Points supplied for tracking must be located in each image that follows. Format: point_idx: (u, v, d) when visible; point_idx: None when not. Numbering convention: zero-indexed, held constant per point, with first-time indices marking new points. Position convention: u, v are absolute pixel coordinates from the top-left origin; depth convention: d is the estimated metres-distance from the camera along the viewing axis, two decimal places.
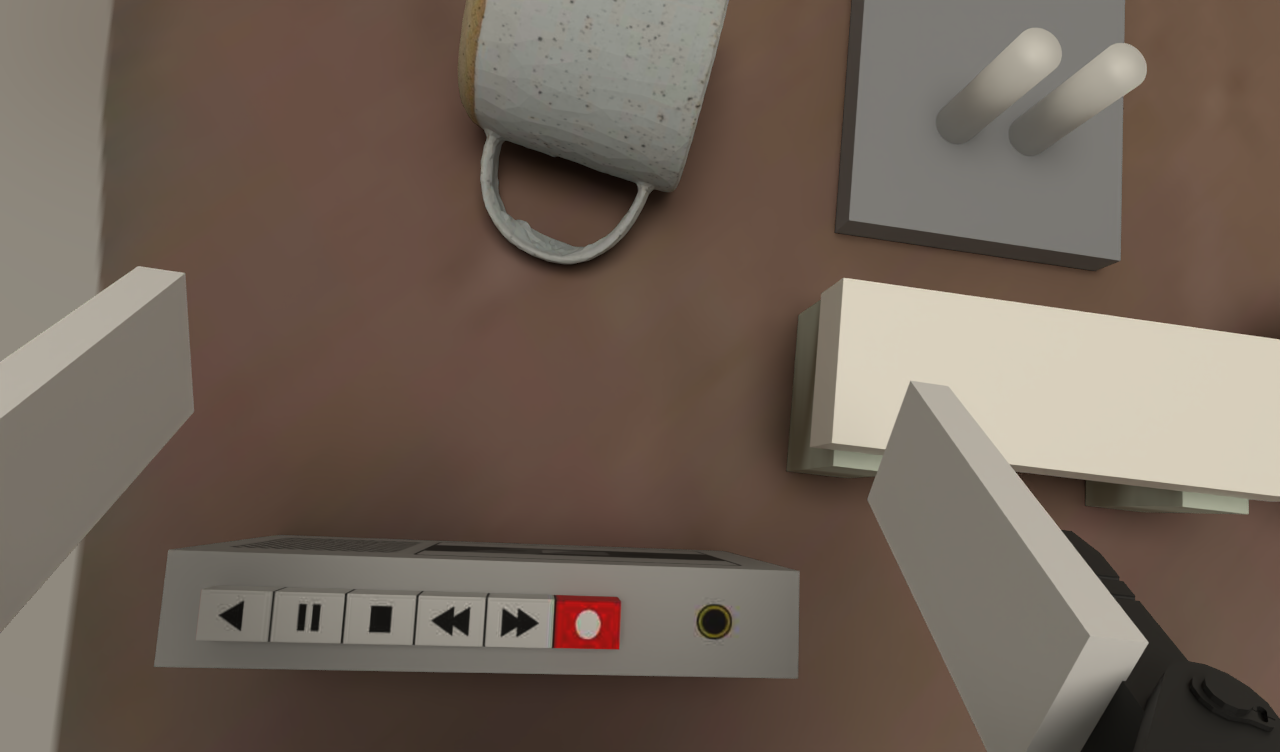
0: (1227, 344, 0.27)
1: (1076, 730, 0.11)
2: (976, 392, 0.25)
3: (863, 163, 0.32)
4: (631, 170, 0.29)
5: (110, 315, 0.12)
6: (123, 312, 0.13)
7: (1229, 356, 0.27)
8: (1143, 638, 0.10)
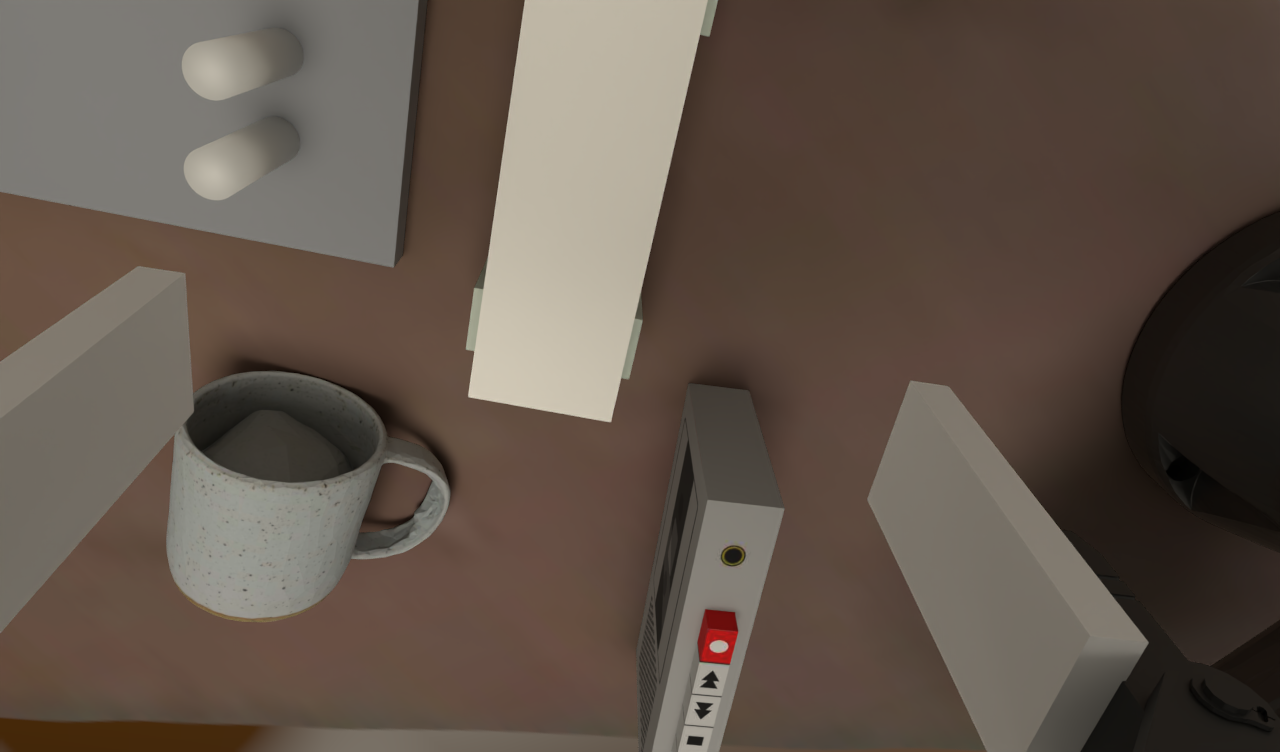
0: (538, 6, 0.24)
1: (1076, 730, 0.11)
2: (575, 296, 0.28)
3: (333, 245, 0.32)
4: (374, 482, 0.34)
5: (110, 315, 0.12)
6: (123, 312, 0.13)
7: (552, 7, 0.24)
8: (1143, 638, 0.10)
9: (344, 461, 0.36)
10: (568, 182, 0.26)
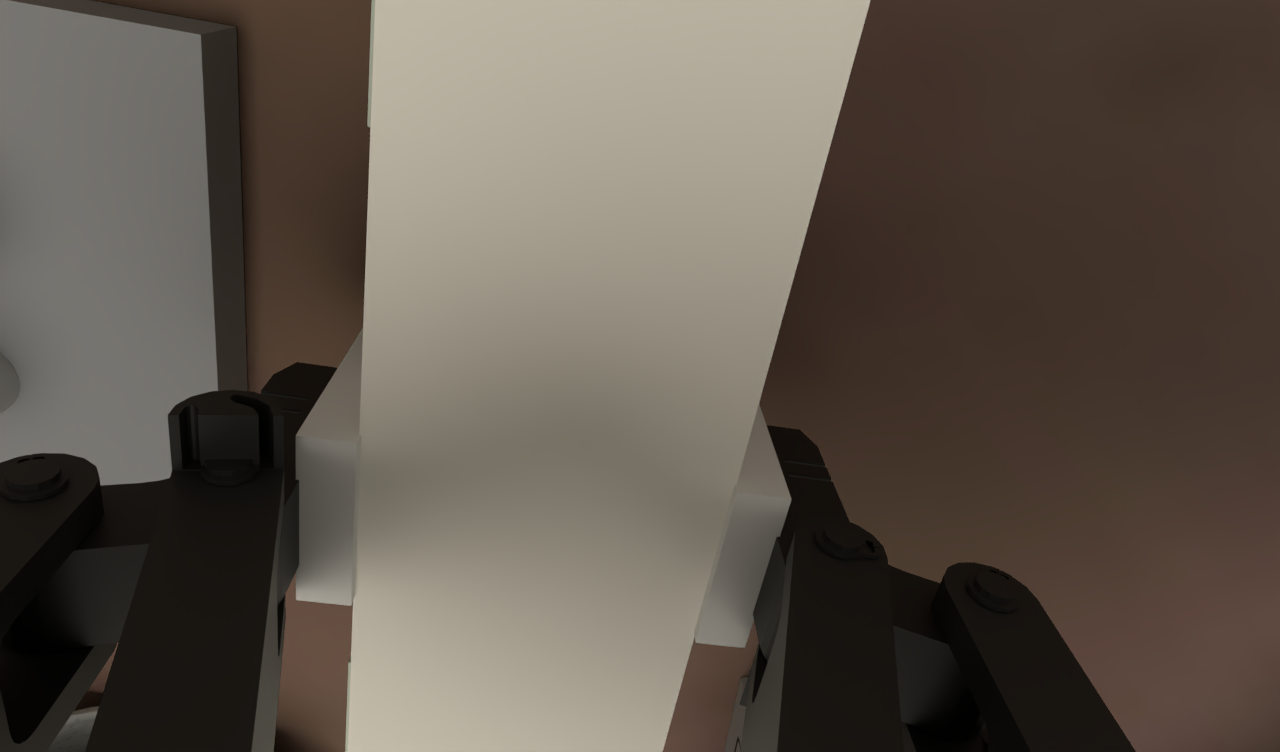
0: (404, 186, 0.09)
1: (746, 585, 0.12)
2: (540, 726, 0.13)
3: None
4: None
5: None
6: None
7: (438, 187, 0.09)
8: (788, 496, 0.11)
9: None
10: (509, 538, 0.12)
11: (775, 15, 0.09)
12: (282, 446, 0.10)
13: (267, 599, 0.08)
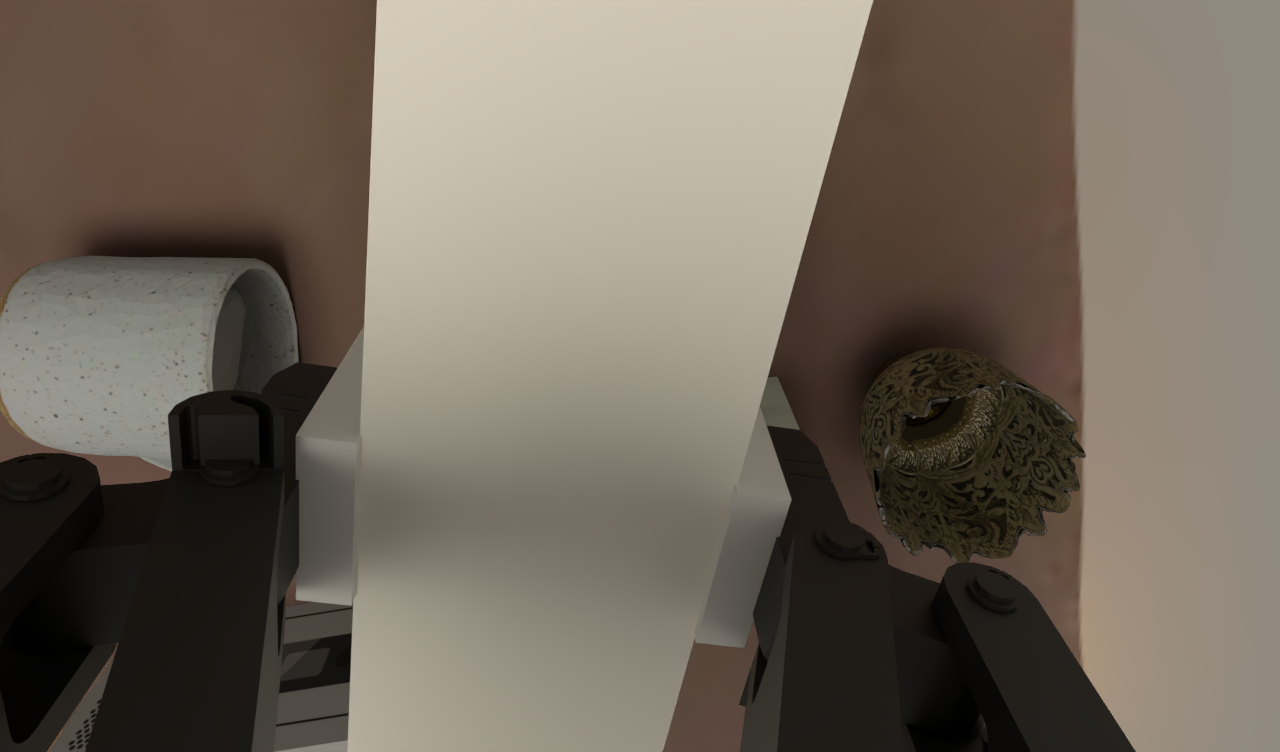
0: (406, 186, 0.09)
1: (746, 584, 0.12)
2: (540, 726, 0.13)
3: None
4: None
5: None
6: None
7: (440, 187, 0.09)
8: (787, 496, 0.11)
9: None
10: (509, 539, 0.12)
11: (777, 16, 0.09)
12: (282, 446, 0.10)
13: (267, 599, 0.08)
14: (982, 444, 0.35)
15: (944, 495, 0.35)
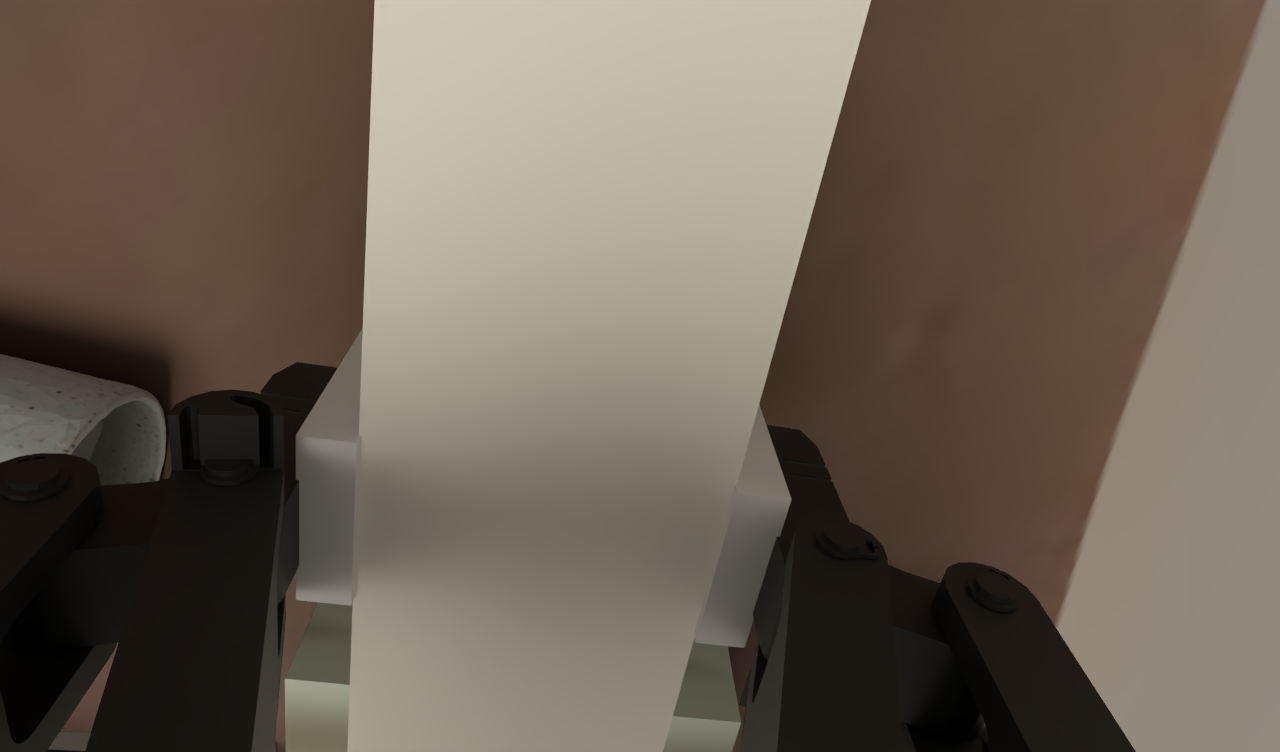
0: (404, 184, 0.09)
1: (746, 584, 0.12)
2: (540, 726, 0.13)
3: None
4: None
5: None
6: None
7: (439, 185, 0.09)
8: (787, 496, 0.11)
9: None
10: (509, 538, 0.12)
11: (776, 12, 0.09)
12: (282, 446, 0.10)
13: (267, 599, 0.08)
14: None
15: None
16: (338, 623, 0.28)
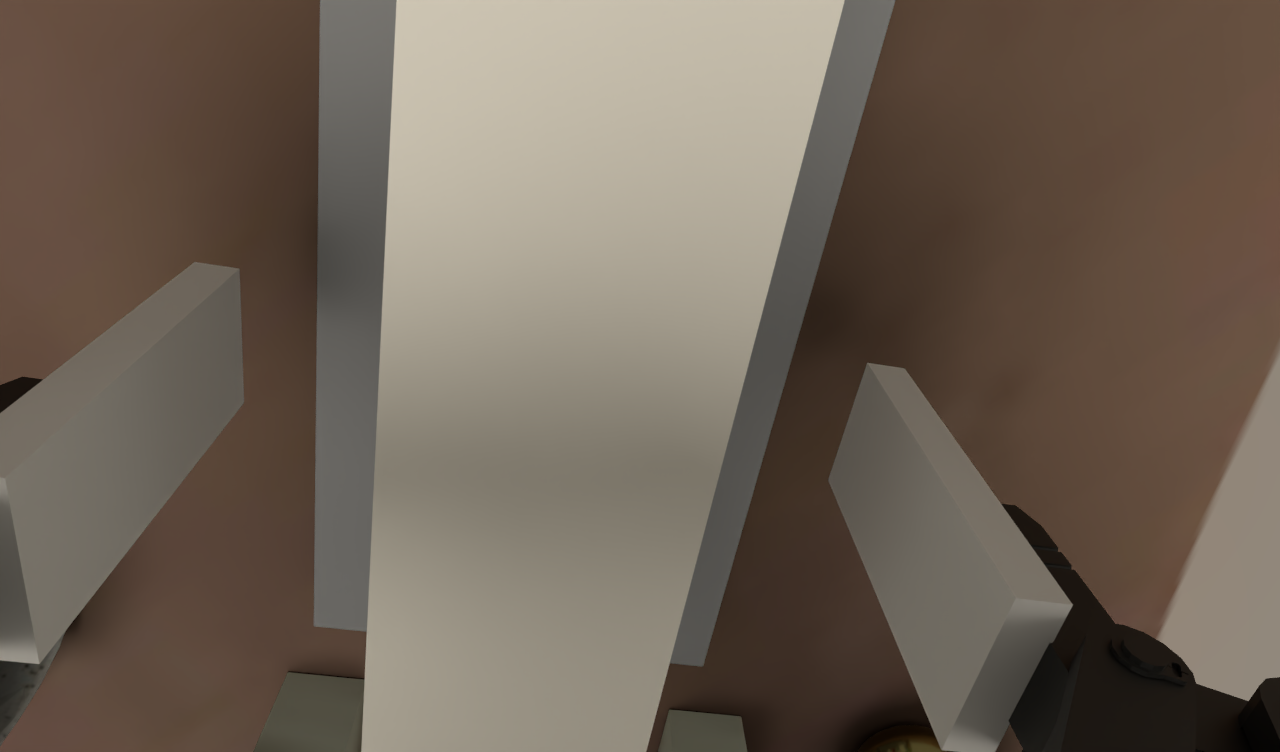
0: (422, 164, 0.10)
1: (1007, 691, 0.11)
2: (544, 677, 0.14)
3: (330, 562, 0.22)
4: None
5: (175, 308, 0.13)
6: (187, 306, 0.13)
7: (453, 165, 0.10)
8: (1067, 600, 0.10)
9: None
10: (516, 496, 0.13)
11: (760, 6, 0.10)
12: None
13: None
14: None
15: None
16: (292, 743, 0.24)
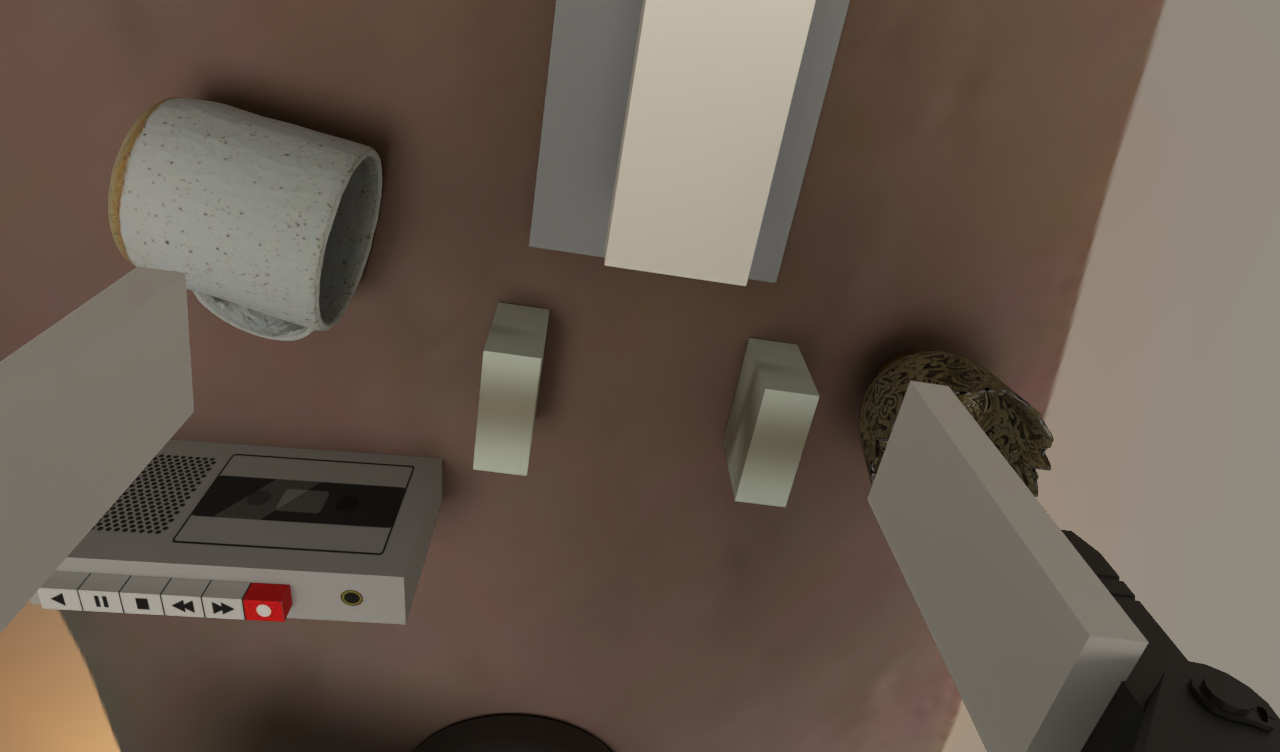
0: None
1: (1076, 730, 0.11)
2: (714, 153, 0.27)
3: (544, 196, 0.35)
4: None
5: (110, 315, 0.12)
6: (123, 312, 0.13)
7: None
8: (1143, 638, 0.10)
9: None
10: (711, 29, 0.26)
11: None
12: None
13: None
14: None
15: None
16: (512, 327, 0.37)
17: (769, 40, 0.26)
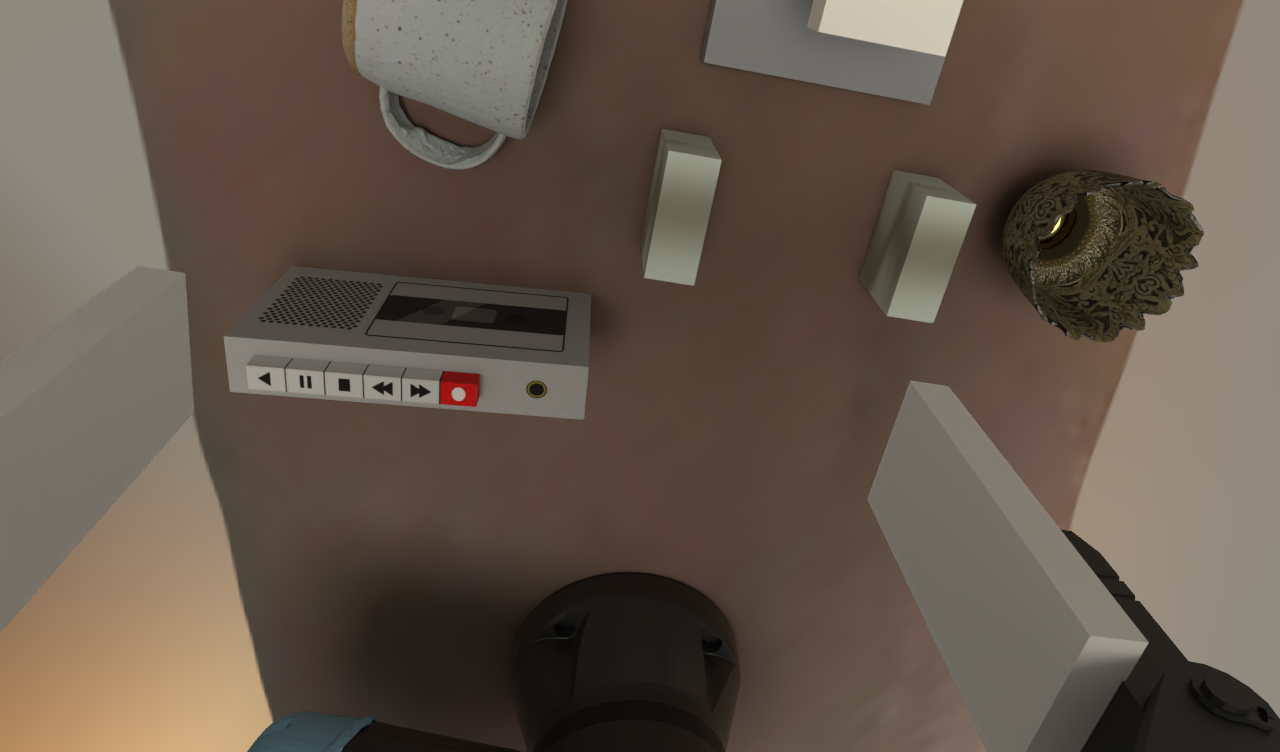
0: None
1: (1076, 730, 0.11)
2: None
3: (723, 10, 0.38)
4: None
5: (110, 315, 0.12)
6: (123, 313, 0.13)
7: None
8: (1143, 638, 0.10)
9: None
10: None
11: None
12: None
13: None
14: (1088, 271, 0.43)
15: (1054, 300, 0.42)
16: (684, 142, 0.39)
17: None
